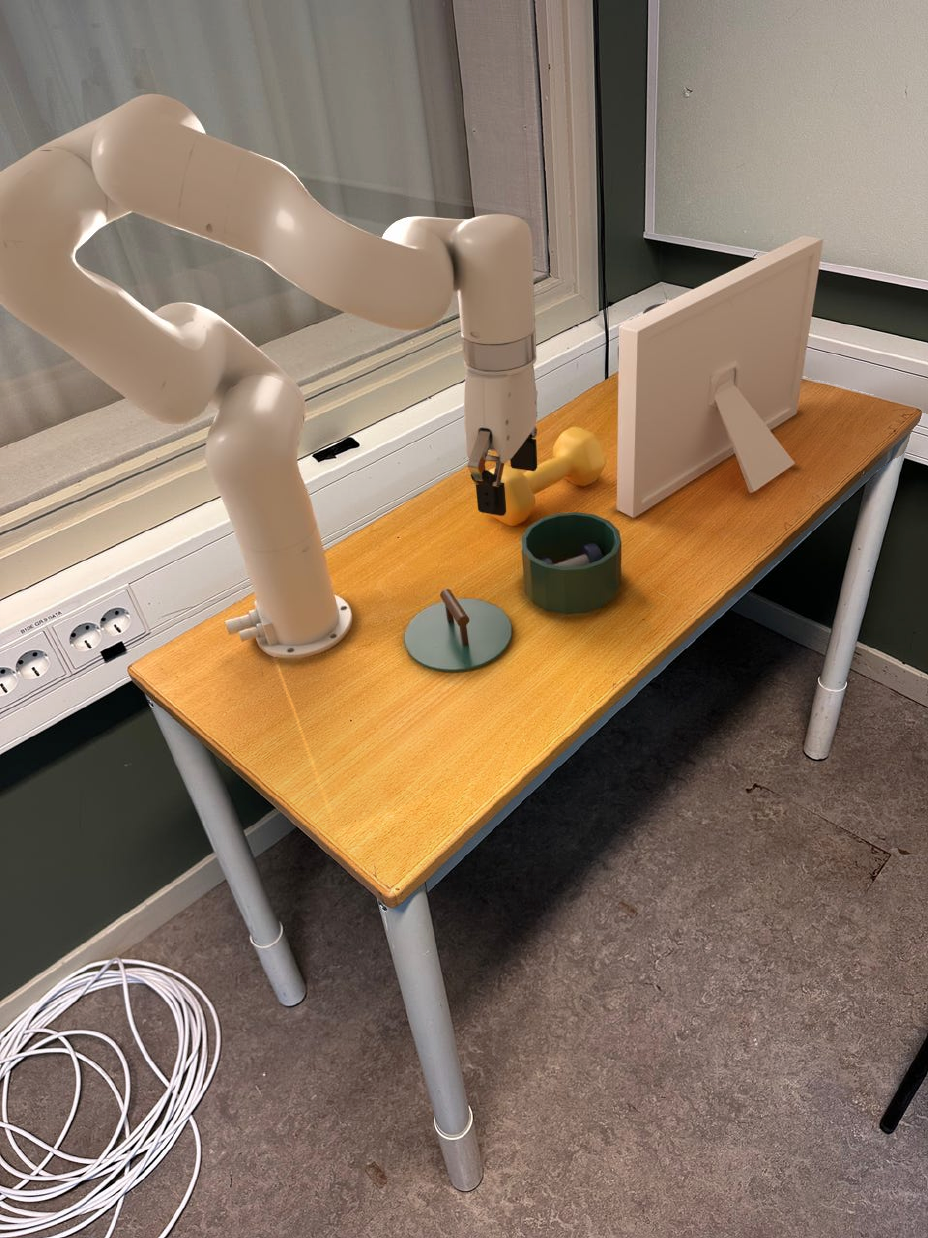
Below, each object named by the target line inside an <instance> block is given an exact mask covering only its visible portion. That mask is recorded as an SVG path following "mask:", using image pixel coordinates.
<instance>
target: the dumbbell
mask: <svg viewBox="0 0 928 1238" xmlns="http://www.w3.org/2000/svg"><path fill="white" fill-rule="evenodd" d="M552 456H553V457H551V458H550V459H547V460H545V461H543V462H541V463H539V464H537V469H536V470H535V471H528V470H526V471H525V472H524V473H522V472H521V470H519V469H514V468H512V467H511V465H507V464H504V468H503V473H502V478H501V482H502V483H504V485H505V499H506V513H505V514H504V516H499V515H494V514H490V516H491V517H492V518H494V519H495V520H497V521H499V522H500V523H502V524H503V525H506V526H508V527H516V526H518V525H520V524H523V523H524V522H525V521H526V520H527V519H528V518H529V517H530V515H531V513H532V512H533V509H534V507H535V505H536V498H535V495H536V494H538V493H540V492H542V491H544V490H546V489H548V488H550V487H551V486H553V485H555V484H556V483H559V482H560V481H561V480H563V479H565V480H566V481H568V482H570V483H571V484H574V485H577V486H579V487H587V486H589V485H591V484H593V483H594V482H596V481H597V480H598V479H599V478H600V476H601V475H602V473H603V472H604V470H605V468H606V467H607V458H606V455H605V452H604V449H603V447H602V444H601V442H600V440H599V438H598V436H597V435H596V434H595V433H593V432H591V431H589V430H587V429H585V428H583V427H580V426H571V427H569V428H567V429H566V430H564V431H562V432H561V433H560V435H559V436H558V438H556V441H555V442H554V445H553V447H552ZM494 470H495V466H494V467H492V468H491V469H488V471H490V472H491V473H492V474H494Z"/></svg>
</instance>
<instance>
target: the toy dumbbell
mask: <svg viewBox="0 0 928 1238" xmlns="http://www.w3.org/2000/svg"><path fill="white" fill-rule="evenodd" d="M602 558H603V555H602V552H601V550H600V549H599V547H598V546H597V545H596V544H595V543H590V544H587V545H584V546H581V547H580V549H579V556H577V557H574V558H567V559H564V560H563V561H560V562H557V563H554V562H552V561H551V560H550V559H549V558H544V559H541V561H543V562H545V563H547V564H551V565H557V566H563V567H570V566H584V565H587V564H590V563H593V562H596V561H599V560H601V559H602Z"/></svg>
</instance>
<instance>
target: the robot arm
mask: <svg viewBox="0 0 928 1238" xmlns="http://www.w3.org/2000/svg"><path fill="white" fill-rule="evenodd" d="M131 213H134V214H136V215H138V216H139V215H140V216H141V217H145V218H147V219H151V220H154V221H156V222H158V223H162V224H164V225H166V226H169V227H172V228H175V229H177V230H180V231H184V232H187V233H190V234H192V235H194V236H198V237H201V238H203V239H206V240H208V241H211V242H214V243H216V244H219V245H223V246H225V247H226V248H229V249H232V250H235V251H237V252H240V253H243V254H246V255H249V256H251V257H253V258H255V259H258V260H259V261H261V262H263V263H264V264H265V265H267V266H268V267H269V268H271V269H272V270H273V271H274V272H275V273H276V274H278V275H279V276H281V277H282V278H284V279H285V280H287V281H288V282H290V283H292V284H293V285H295V286H296V287H297V288H299V289H300V290H302V291H303V292H305V293H306V294H308V295H309V296H311V297H312V298H314V299H316V300H318V301H320V302H321V303H323V304H325V305H328V306H329V307H331V308H334V309H336V310H339V311H340V312H344V313H347V314H349V315H352V316H355V317H357V318H360V319H363V320H366V321H370V322H371V323H375V324H377V325H380V326H384V327H387V328H391V329H394V330H399V331H408V332H409V331H421V330H425V329H428V328H430V327H432V326H434V325H435V324H436V323H438V322H439V321H440V320H441V319H443V317H444V316H445V315H446V313H447V312H448V310H449V308H450V306H451V304H452V301H453V296H454V294H455V295H456V297H457V301H458V302H457V303H458V313H459V323H460V335H461V345H462V356H463V366H464V367H465V369H466V372H465V377H464V378H465V379H464V390H463V391H464V393H463V414H464V415H463V417H464V418H463V419H464V421H463V423H464V440H465V441H464V442H465V452H466V457H467V458H468V461H467V468H468V470H469V473H470V477H471V480H472V481H473V484H474V485H475V491H476V503H477V511H478V512H480V513H481V514H487V515H488V514H489V515H491V514H494V515H499V516H504V514H505V513H506V499H505V485H504V483H502V482H501V478H502V473H503V468H504V465H505V464H506V463H508V462H509V463H510V467H512V468H514V469H516V470H520V471H535V470H536V469H537V465H538V451H537V450H538V448H537V447H538V446H537V439H536V437H537V434H538V427H536V424H537V418H538V402H537V401H538V390H537V386H536V376H535V368H534V365H535V363H536V362H537V358H538V357H537V337H536V336H537V335H536V334H537V333H536V331H537V330H536V309H535V283H534V281H535V280H534V257H533V239H532V238H533V237H532V231H531V228H530V226H529V224H528V223H527V222H526V221H525V220H524V219H522V218H521V217H519V216H516V215H512V214H505V213H492V214H491V213H490V214H484V215H478V216H475V217H472V218H469V219H468V218H467V219H461V218H460V219H459V218H444V217H435V216H434V217H433V216H408V217H404V218H401V219H400V220H397V221H395V222H394V223H392V224H391V225H390V226H389V227H388V228H386V230H385V232H384V233H383V235H382V237H381V236H379V235H376V234H373V233H371V232H369V231H366V230H364V229H361V228H359V227H357V226H355V225H353V224H351V223H349V222H347V221H345V220H343V219H342V218H340V217H338V216H337V215H335V214H333V213H332V212H331V211H329V210H328V209H326V208H325V207H324V206H322V204H320V203H319V202H318V201H317V200H316V199H315V198H314V197H313V196H312V195H311V194H310V192H309V191H308V190H307V188H306V187H305V186H304V184H303V183H302V182H301V181H300V179H299V178H298V176H297V175H296V174H295V173H294V172H293V171H291V169H289V168H288V167H287V166H286V165H284V164H283V163H281V162H279V161H277V160H274V159H271V158H269V157H266V156H264V155H262V154H258V153H255V152H253V151H251V150H248V149H245V148H243V147H241V146H238V145H235V144H233V143H230V142H228V141H225V140H223V139H219V138H217V137H214V136H212V135H210V134H207V133H206V131H205V129H204V126H203V125H202V123H201V121H200V120H199V118H198V117H197V115H196V114H195V113H194V112H193V111H192V110H191V108H189V107H187V105H185V104H183V102H181V101H179V100H177V99H175V98H172V97H171V96H168V95H164V94H160V93H146V94H141V95H139V96H136V97H134V98H132V99H130V100H128V101H127V102H125V103H123V104H122V105H120V106H118V107H117V108H115V109H113V110H111V111H109V112H108V113H106V114H103V115H101V116H100V117H98V118H96V119H93V120H91V121H89V122H88V123H87V122H86V124H84V125H81V126H79V127H77V128H75V129H73V130H71V131H69V132H67V133H65V134H62V135H61V136H59V137H57V138H54V139H53V140H51V141H48V142H46V143H44V145H41V146H38V147H37V148H36V149H34V150H32V151H31V152H30V153H28V154H27V155H25V156H23V157H22V158H20V159H19V160H17V161H16V162H14V163H12V164H10V165H9V166H7V167H6V168H4V169H3V170H1V171H0V305H1V307H3V308H4V310H6V311H7V312H8V313H10V314H11V315H12V316H13V317H15V318H16V319H18V320H19V321H20V322H21V323H23V324H24V325H26V326H27V327H29V328H30V329H31V330H33V331H35V332H36V333H38V334H39V335H41V336H42V337H44V338H46V339H47V340H48V341H50V342H51V343H52V344H54V345H56V346H57V347H58V348H60V349H61V350H63V351H64V352H66V354H68V355H70V356H71V357H72V358H74V359H75V360H76V361H77V362H79V364H81V365H82V366H83V367H84V368H86V369H87V370H88V371H89V372H91V373H92V374H94V376H96V377H98V378H99V379H100V380H102V381H103V382H104V383H106V384H107V385H108V386H109V387H111V388H112V389H113V390H114V391H116V392H118V394H120V395H121V396H122V397H124V398H125V399H126V400H128V401H129V402H130V403H132V404H133V405H134V406H136V407H137V408H138V409H140V410H141V411H143V412H144V413H146V414H147V415H149V417H151V418H153V419H155V420H157V421H159V422H162V423H163V424H166V425H171V426H184V425H188V424H190V423H192V422H193V421H195V420H196V419H198V418H199V417H200V416H201V415H202V414H203V412H204V411H205V410H206V408H208V406H210V407H211V408H212V409H214V410H215V411H216V412H215V414H214V417H213V419H212V422H211V424H210V426H209V429H208V432H207V436H206V440H205V447H204V457H205V464H206V468H207V472H208V475H209V477H210V479H211V481H212V482H213V486H214V487H215V489H216V491H217V492H218V494H219V497H220V498H221V501H222V503H223V505H224V507H225V509H226V513H227V515H228V518H229V520H230V523H231V527H232V530H233V532H234V536H235V539H236V541H237V544H238V546H239V550H240V553H241V556H242V559H243V563H244V565H245V569H246V571H247V574H248V575H247V576H248V578H249V581H250V584H251V587H252V590H253V593H254V597H255V599H256V600H254V601H253V603H254V606H255V608H254V609H251V610H248V614H244V615H242V616H236V617H234V618H231V619H226V620H224V623H225V626H226V629H227V632H228V635H229V636H232V635H235V634H238V635H239V638H240V641H241V642H242V643H243V642H247V641H250V640H252V639H254V638H255V640H256V643H257V645H258V647H259V648H260V649H261V650H262V651H263V652H264V653H266V655H268V656H271V657H273V658H282V659H303V658H308V657H312V656H316V655H319V654H320V653H324V652H325V651H328V650H330V649H331V648H333V647H334V646H336V645H337V644H338V643H340V642H341V641H342V640H343V639H344V638H345V637H346V635H347V634H348V633H349V631H350V629H351V628H352V624H353V613H352V610H351V607H350V605H349V603H348V602H347V601H346V600H345V599H344V598H342V597H340V596H339V595H337V594H335V591H334V587H333V582H332V579H331V574H330V569H329V566H328V563H327V558H326V555H325V550H324V547H323V542H322V539H321V534H320V530H319V525H318V522H317V519H316V515H315V510H314V505H313V503H312V499H311V496H310V493H309V490H308V488H307V486H306V483H305V481H304V479H303V476H302V474H301V471H300V467H299V462H298V454H299V453H298V450H299V446H300V443H301V439H302V438H301V437H302V432H303V430H304V426H305V421H306V415H307V406H306V399H305V397H304V394H303V392H302V390H301V388H300V387H299V385H298V383H296V381H295V380H294V378H292V376H290V374H289V373H287V372H286V371H285V370H284V369H283V368H282V367H281V366H279V364H278V363H276V362H275V361H274V360H273V359H272V358H270V357H269V356H268V355H266V353H264V352H263V351H262V350H261V349H260V348H258V346H256V345H255V344H254V343H252V342H251V341H250V340H249V339H248V338H247V337H246V336H244V335H243V334H242V333H241V332H240V331H238V330H237V328H234V326H232V325H231V324H230V323H229V322H228V321H226V320H225V319H224V318H223V317H221V316H220V315H218V314H217V313H215V312H214V311H212V310H210V309H208V308H205V307H203V306H201V305H198V304H194V303H190V302H182V301H181V302H179V301H178V302H173V303H168V304H165V305H162V306H161V307H160V308H158V309H156V310H155V311H153V312H152V311H150V310H149V309H148V308H147V307H146V306H144V305H143V304H141V303H140V302H139V301H137V300H136V299H135V298H134V297H133V296H132V295H131V294H129V293H128V292H127V291H126V290H125V289H124V288H122V287H121V286H119V285H118V284H116V283H115V282H113V281H111V280H110V279H108V278H106V277H104V276H102V275H100V274H98V273H95V272H93V271H91V270H88V269H86V268H85V267H84V266H82V265H81V264H79V263H78V262H77V260H76V253H77V251H78V249H80V248H81V247H82V246H83V245H84V244H86V243H87V241H88V240H89V239H90V238H91V237H92V236H93V235H94V234H95V233H96V232H97V231H99V230H100V229H102V228H103V227H105V226H106V225H109V224H111V223H112V222H114V221H116V220H119V219H120V218H122V217H125V216H126V215H129V214H131ZM489 451H493V452H495V453H496V455H490V454H488V453H489ZM486 463H491V464H492V463H493V464H495V465H494V467H495V470H494V474H492V473H491V472H490V471H489V469H488V470H487V469H486Z"/></svg>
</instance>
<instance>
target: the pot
mask: <svg viewBox="0 0 928 1238" xmlns="http://www.w3.org/2000/svg"><path fill="white" fill-rule="evenodd" d="M590 543H595V544H596V545H597V546H598V547H599V549H600V550H601V552H602V555H603V558H602V559H601V560H599V561H596V562H593V563H590V564H587V565H584V566H570V567H563V566H557V565H551V564H547V563H545V562H543V561H541V559H544V558H549V559H550V560H551V561H552V563H554V562H556V561H558V560H568V559H571V558H574V557H577V556H579V549H580V547H581V546H584V545H587V544H590ZM622 543H623V542H622V537H621V533H620V530H619V529H618V528H617V527H616V526H615V525H614V524H613V523H612V522H611V521H610V520H608V519H606V518H603V517H601V516H599V515H596V514H593V513H587V512H579V511H571V512H558V513H553V514H551V515H548V516H545V517H542V518H539V519H538V520H536V521H534V522H533V523H532V524H529V526H528V527H527V528H526V529H525V531H524V533H523V534H522V535H521V538H520V544H521V545H520V547H521V561H522V572H523V574H522V575H523V576H522V577H523V589H524V594H525V595H526V597H527V598H528V599H529V601H531V603H532V604H534V605H536V606H538V607H539V608H541V609H543V610H545V611H547V612H551V613H555V614H561V615H578V614H579V615H581V614H587V613H590V612H593V611H596V610H599V609H601V608H604V607H605V606H607V605H608V604H609V603H610V602H612V601H614V599H615V598H617V595H618V593H619V591H620V590H621V587H622Z"/></svg>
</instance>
